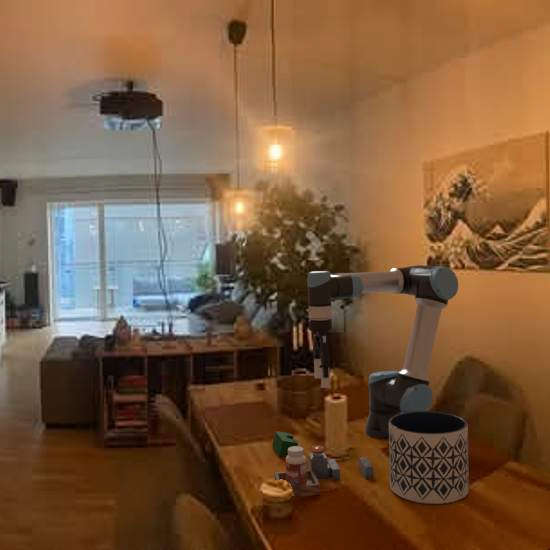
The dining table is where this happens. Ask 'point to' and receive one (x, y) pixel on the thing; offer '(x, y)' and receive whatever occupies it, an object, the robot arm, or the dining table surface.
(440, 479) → the planter
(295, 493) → the tray
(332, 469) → the socket
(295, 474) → the pill bottle
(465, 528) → the dining table surface
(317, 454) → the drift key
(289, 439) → the clamp
